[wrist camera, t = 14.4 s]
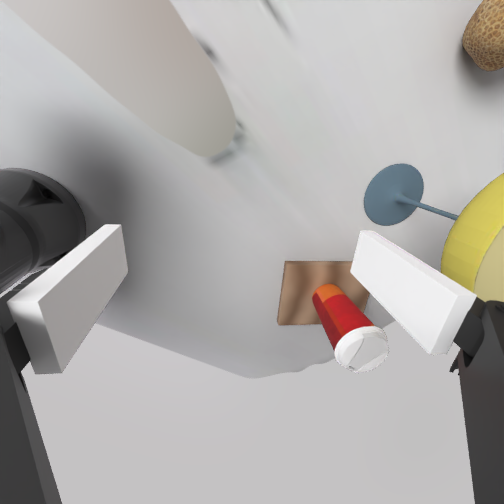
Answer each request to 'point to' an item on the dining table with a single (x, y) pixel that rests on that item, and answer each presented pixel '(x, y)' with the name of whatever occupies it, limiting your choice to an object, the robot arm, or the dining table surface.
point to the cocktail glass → (461, 235)
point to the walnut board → (307, 281)
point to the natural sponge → (486, 35)
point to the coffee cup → (349, 330)
